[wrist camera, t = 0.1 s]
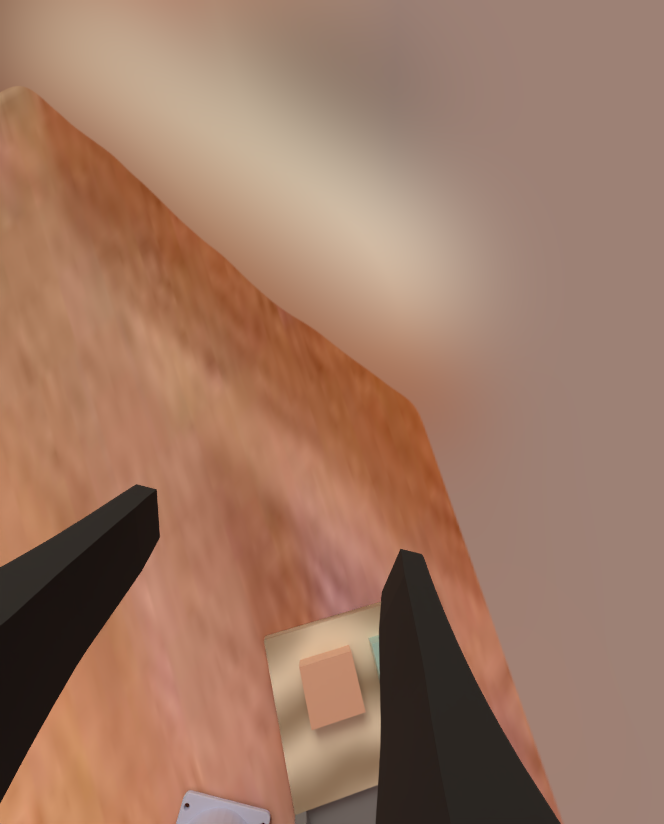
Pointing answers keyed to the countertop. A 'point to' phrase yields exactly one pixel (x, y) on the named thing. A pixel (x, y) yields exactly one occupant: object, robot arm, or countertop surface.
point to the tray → (344, 810)
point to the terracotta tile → (331, 687)
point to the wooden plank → (338, 742)
